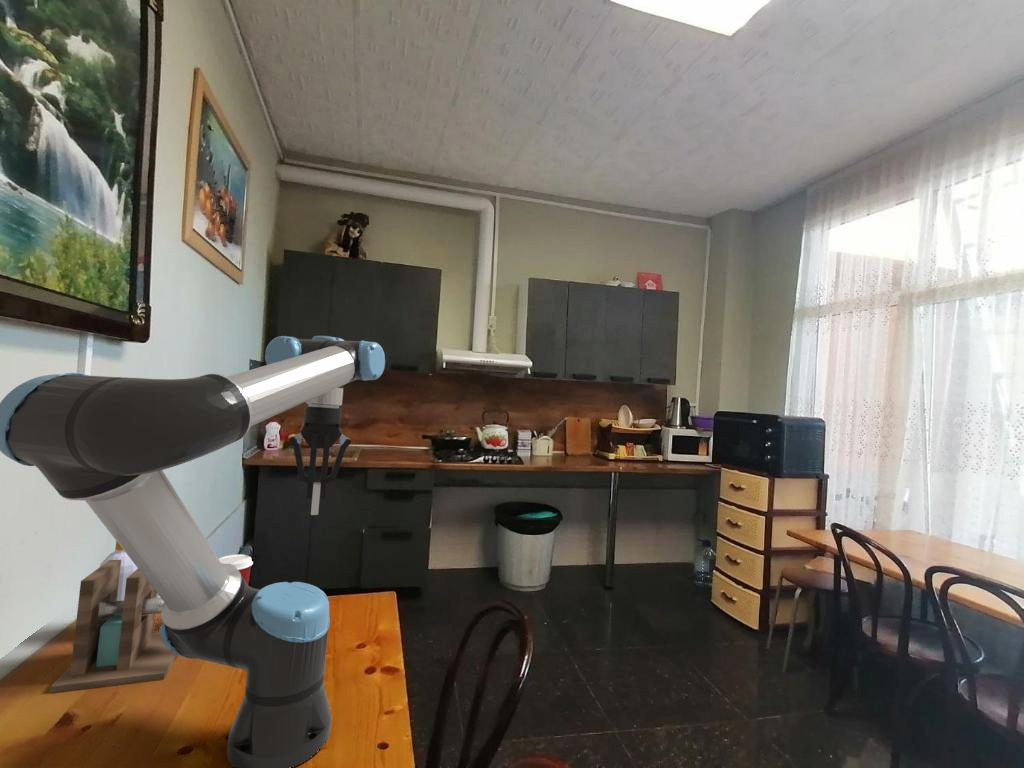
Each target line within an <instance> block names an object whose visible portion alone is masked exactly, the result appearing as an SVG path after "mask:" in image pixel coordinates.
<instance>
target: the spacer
mask: <svg viewBox="0 0 1024 768" xmlns="http://www.w3.org/2000/svg"><path fill="white" fill-rule="evenodd" d="M121 625H122V617H110V618H109V619H108V620H107V621H106V622H105V623H104V624H103V625H102V626H101V627H100V636H99V645H98V655H97V664H96V667H100V666H109V665H117V662H118V653H119V644H120V634H121Z"/></svg>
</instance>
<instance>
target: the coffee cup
mask: <svg viewBox="0 0 1024 768" xmlns="http://www.w3.org/2000/svg"><path fill="white" fill-rule="evenodd" d="M218 559H219V561H220V562H221V564H229V565H232V566H234V567H236V568H237V569H238V570H239V572H240V574H241V575H242V577H243V578H244V580H245V582H246V583H247V585H248V586H249V582H250V576H251V569H252V565H253V564H254V561H252V557H251V556H249V555H247V554H229V555H224V556H222V557H218Z"/></svg>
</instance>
